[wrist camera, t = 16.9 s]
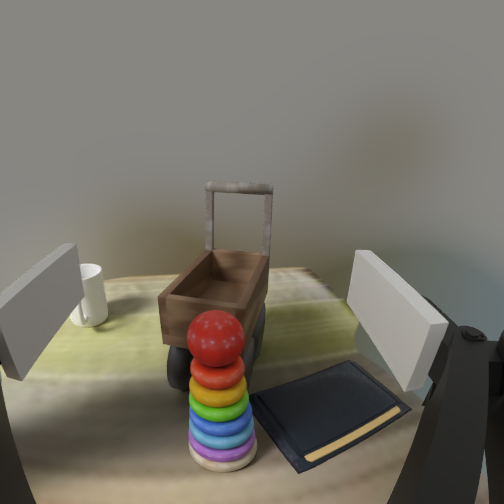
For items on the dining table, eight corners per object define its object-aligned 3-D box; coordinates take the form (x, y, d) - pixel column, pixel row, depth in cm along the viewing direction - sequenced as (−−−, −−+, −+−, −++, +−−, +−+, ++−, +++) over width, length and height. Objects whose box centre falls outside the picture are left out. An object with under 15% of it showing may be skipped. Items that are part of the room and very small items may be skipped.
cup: (110, 306, 63) (103, 262, 59) (106, 337, 52) (97, 287, 49) (74, 309, 60) (66, 265, 57) (65, 339, 49) (52, 290, 46)
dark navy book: (353, 353, 49) (417, 405, 36) (351, 362, 50) (413, 414, 36) (241, 388, 41) (296, 470, 28) (240, 398, 42) (294, 478, 28)
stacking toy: (261, 430, 35) (272, 300, 29) (250, 480, 28) (258, 350, 22) (200, 419, 36) (190, 290, 30) (180, 466, 29) (155, 333, 23)
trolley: (170, 400, 39) (149, 200, 31) (210, 330, 57) (209, 180, 48) (241, 415, 37) (246, 205, 29) (264, 338, 55) (273, 183, 47)
